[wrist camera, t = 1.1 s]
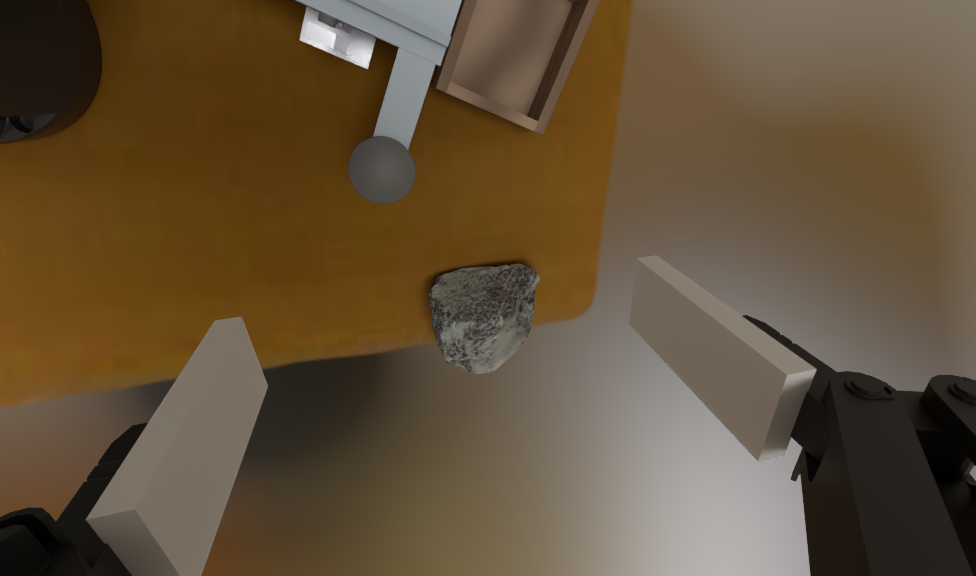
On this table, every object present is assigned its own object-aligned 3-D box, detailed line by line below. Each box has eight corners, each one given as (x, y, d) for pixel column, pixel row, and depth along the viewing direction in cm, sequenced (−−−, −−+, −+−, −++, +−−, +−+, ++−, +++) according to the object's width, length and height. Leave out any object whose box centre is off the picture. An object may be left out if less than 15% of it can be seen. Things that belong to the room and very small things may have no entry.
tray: (431, 86, 35) (435, 88, 32) (480, -62, 32) (490, -79, 28) (529, 129, 38) (542, 135, 35) (583, -2, 35) (604, -11, 31)
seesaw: (176, 129, 27) (153, 135, 25) (226, -239, 21) (201, -284, 19) (403, 206, 32) (404, 218, 30) (498, -77, 26) (509, -94, 23)
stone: (502, 295, 33) (472, 400, 37) (563, 277, 41) (533, 366, 45) (417, 249, 38) (397, 346, 42) (486, 241, 46) (465, 324, 50)
